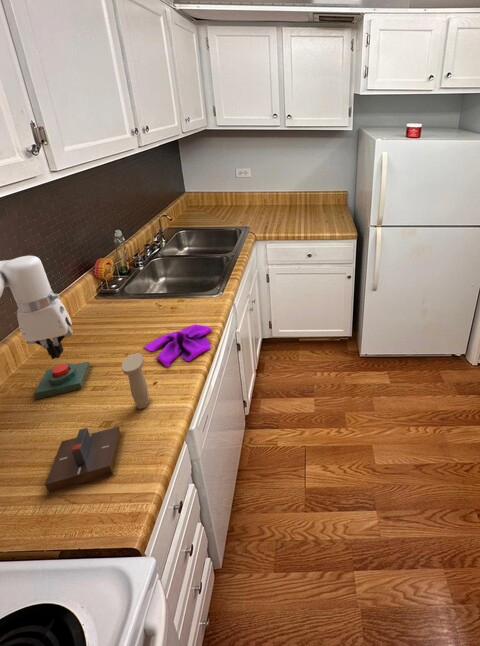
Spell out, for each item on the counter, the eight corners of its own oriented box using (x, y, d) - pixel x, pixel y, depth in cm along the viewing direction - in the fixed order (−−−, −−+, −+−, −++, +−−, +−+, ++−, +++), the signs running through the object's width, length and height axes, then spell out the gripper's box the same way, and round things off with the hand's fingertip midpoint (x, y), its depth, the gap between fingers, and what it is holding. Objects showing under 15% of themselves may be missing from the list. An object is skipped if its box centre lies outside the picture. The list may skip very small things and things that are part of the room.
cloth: (211, 322, 125) (209, 308, 123) (216, 355, 109) (214, 340, 106) (145, 336, 117) (142, 322, 115) (140, 374, 101) (137, 358, 99)
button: (52, 378, 95) (50, 374, 94) (56, 369, 98) (54, 365, 97) (66, 375, 96) (65, 371, 95) (70, 366, 99) (69, 362, 98)
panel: (48, 493, 70) (44, 484, 69) (65, 450, 79) (61, 440, 78) (112, 474, 74) (109, 465, 73) (121, 434, 83) (118, 425, 82)
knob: (84, 443, 78) (78, 428, 76) (92, 440, 78) (87, 426, 76) (76, 465, 73) (71, 451, 71) (85, 463, 73) (79, 448, 72)
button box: (36, 399, 93) (31, 388, 91) (48, 375, 100) (44, 365, 99) (81, 388, 96) (78, 378, 94) (90, 366, 104) (87, 356, 102)
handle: (132, 416, 88) (120, 373, 82) (134, 397, 93) (123, 355, 88) (152, 411, 89) (141, 368, 84) (153, 392, 95) (143, 351, 89)
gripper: (73, 288, 93) (91, 340, 100) (8, 299, 89) (31, 352, 96) (64, 303, 87) (83, 357, 94) (-6, 315, 82) (19, 371, 89)
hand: (57, 355), depth 95 cm, fingers closed
